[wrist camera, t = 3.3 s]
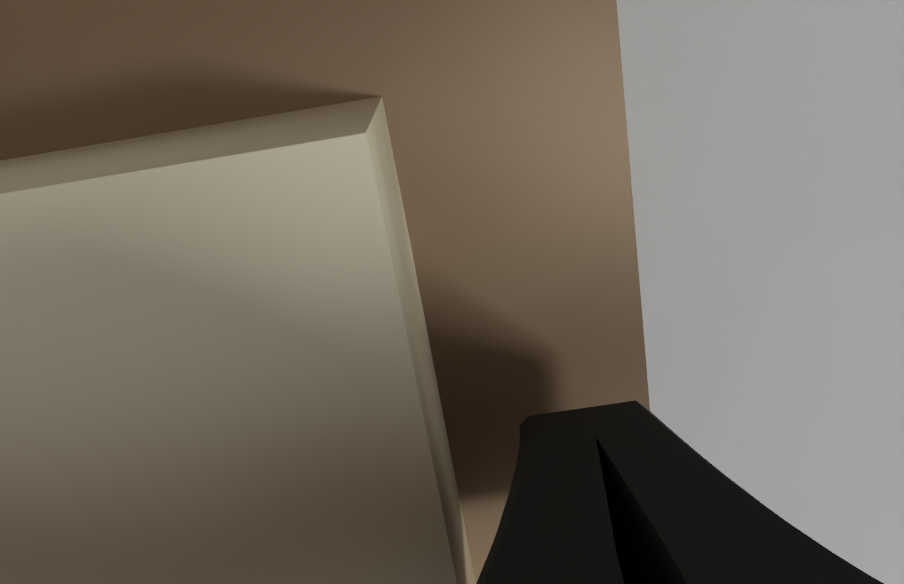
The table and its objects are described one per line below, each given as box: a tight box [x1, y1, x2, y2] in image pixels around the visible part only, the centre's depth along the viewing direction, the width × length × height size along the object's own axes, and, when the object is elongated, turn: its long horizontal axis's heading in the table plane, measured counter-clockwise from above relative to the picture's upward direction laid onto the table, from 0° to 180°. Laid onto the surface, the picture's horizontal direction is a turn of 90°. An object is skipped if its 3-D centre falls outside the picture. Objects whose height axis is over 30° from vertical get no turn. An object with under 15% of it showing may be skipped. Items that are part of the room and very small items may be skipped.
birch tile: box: [0, 96, 476, 584], centre depth 9 cm, size 9×6×2 cm, turn 9°
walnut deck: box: [0, 0, 650, 583], centre depth 12 cm, size 14×10×4 cm
